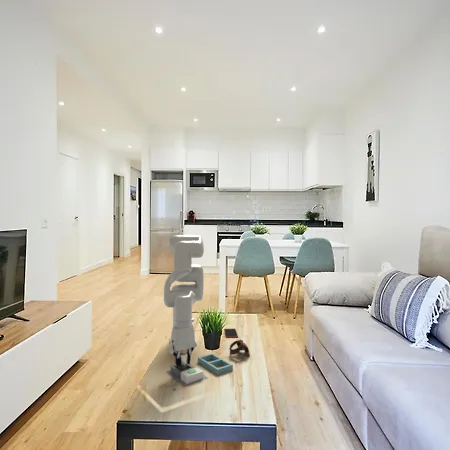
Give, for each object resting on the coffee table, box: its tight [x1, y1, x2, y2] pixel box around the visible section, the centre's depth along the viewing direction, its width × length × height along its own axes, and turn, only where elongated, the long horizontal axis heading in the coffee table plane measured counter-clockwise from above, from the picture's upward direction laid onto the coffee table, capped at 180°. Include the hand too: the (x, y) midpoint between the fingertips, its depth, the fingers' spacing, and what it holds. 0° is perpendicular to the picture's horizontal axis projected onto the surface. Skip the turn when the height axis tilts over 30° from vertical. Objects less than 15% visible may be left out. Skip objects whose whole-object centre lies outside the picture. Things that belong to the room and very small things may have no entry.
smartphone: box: [223, 328, 239, 339], centre depth 207 cm, size 7×1×15 cm
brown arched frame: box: [228, 339, 251, 357], centre depth 177 cm, size 12×9×8 cm
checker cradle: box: [165, 363, 209, 387], centre depth 151 cm, size 16×12×5 cm
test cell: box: [178, 349, 188, 371], centre depth 153 cm, size 4×4×12 cm
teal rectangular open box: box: [197, 352, 234, 376], centre depth 160 cm, size 16×8×4 cm, turn 37°
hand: (182, 364), depth 153 cm, fingers closed on test cell, 4 cm apart
